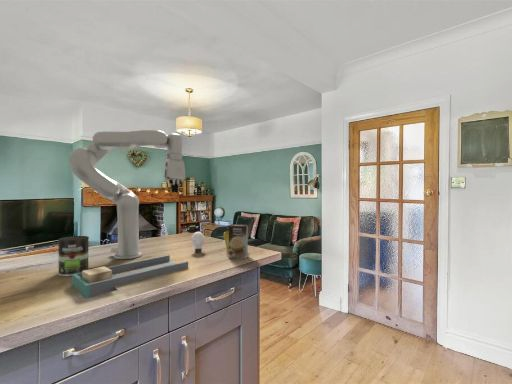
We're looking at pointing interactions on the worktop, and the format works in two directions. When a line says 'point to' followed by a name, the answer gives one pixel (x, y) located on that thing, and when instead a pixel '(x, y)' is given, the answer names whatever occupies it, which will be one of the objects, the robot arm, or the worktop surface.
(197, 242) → the light bulb
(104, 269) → the maple block
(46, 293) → the worktop surface
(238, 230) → the coffee box
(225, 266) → the worktop surface
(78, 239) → the coffee can
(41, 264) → the worktop surface
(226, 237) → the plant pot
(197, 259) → the worktop surface
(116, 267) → the box
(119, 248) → the robot arm
